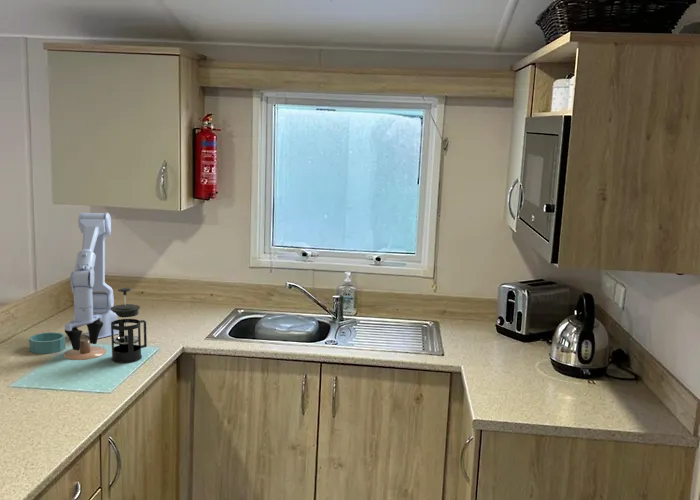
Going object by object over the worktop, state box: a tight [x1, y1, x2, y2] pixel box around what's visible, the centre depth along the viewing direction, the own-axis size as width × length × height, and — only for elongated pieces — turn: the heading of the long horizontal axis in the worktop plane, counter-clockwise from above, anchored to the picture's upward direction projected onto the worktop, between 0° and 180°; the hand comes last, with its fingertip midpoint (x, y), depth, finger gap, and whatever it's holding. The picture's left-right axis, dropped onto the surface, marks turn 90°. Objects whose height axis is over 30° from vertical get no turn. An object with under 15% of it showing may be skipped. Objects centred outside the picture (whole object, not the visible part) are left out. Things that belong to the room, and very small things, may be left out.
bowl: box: [28, 331, 66, 355], centre depth 232 cm, size 11×11×4 cm
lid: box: [63, 338, 107, 361], centre depth 228 cm, size 13×13×5 cm
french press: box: [110, 287, 148, 364], centre depth 223 cm, size 12×9×23 cm
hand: (84, 346), depth 228 cm, fingers open, 7 cm apart
